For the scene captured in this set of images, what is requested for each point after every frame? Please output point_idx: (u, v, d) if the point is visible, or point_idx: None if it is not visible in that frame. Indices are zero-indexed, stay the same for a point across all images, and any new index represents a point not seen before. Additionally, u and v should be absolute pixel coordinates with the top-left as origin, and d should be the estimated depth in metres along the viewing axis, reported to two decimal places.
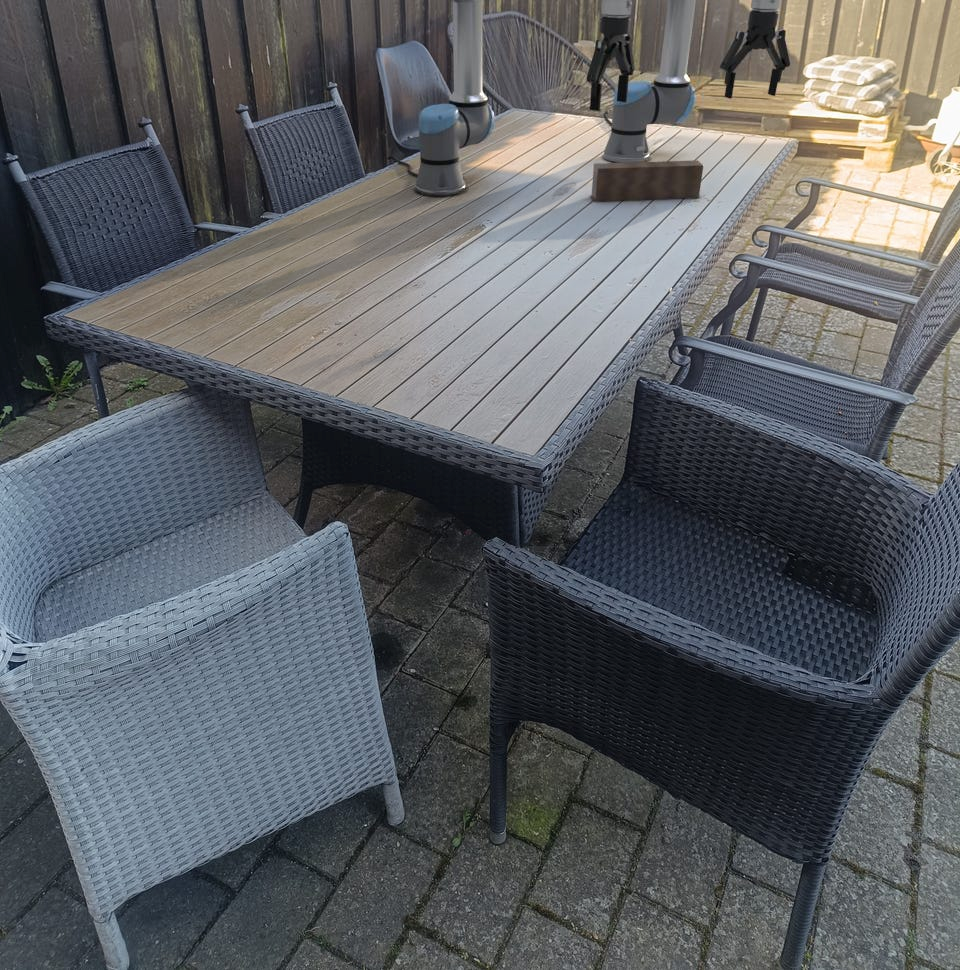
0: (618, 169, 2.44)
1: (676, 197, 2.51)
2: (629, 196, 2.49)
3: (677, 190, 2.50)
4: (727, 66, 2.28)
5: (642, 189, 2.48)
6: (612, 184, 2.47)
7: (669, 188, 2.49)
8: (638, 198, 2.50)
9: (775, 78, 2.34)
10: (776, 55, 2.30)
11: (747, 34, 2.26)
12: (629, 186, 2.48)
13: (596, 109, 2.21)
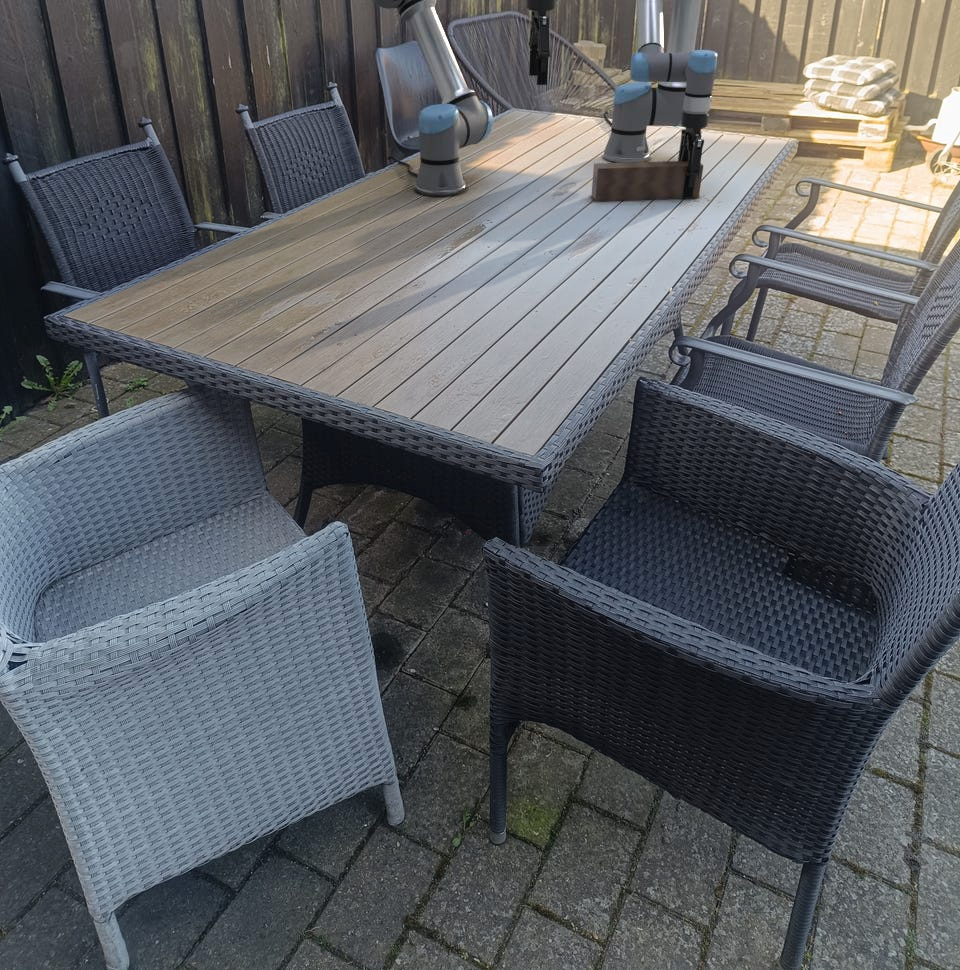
0: (618, 169, 2.44)
1: (676, 197, 2.51)
2: (629, 196, 2.49)
3: (677, 190, 2.50)
4: None
5: (642, 189, 2.48)
6: (612, 184, 2.47)
7: (669, 188, 2.49)
8: (638, 198, 2.50)
9: None
10: None
11: (699, 135, 2.40)
12: (629, 186, 2.48)
13: (544, 83, 2.30)
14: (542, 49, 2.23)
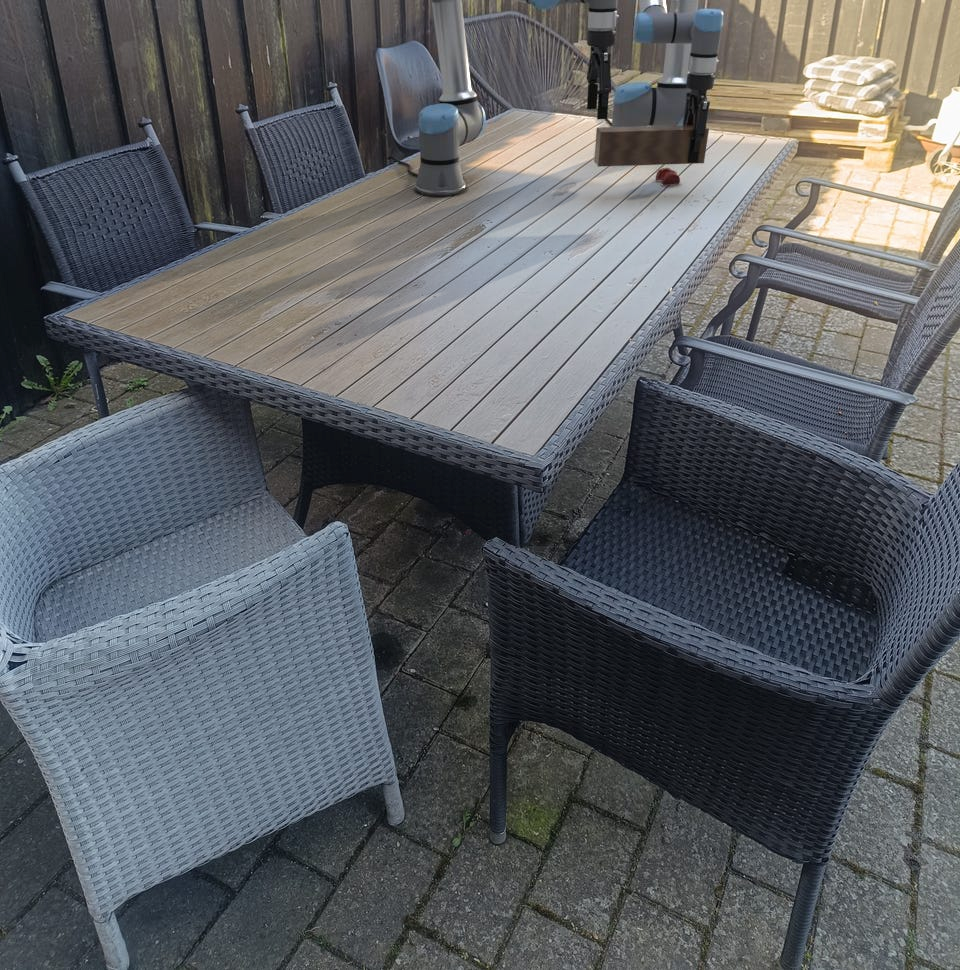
0: (621, 133, 2.38)
1: (681, 162, 2.45)
2: (633, 161, 2.43)
3: (681, 154, 2.44)
4: None
5: (646, 154, 2.43)
6: (615, 148, 2.41)
7: (673, 153, 2.43)
8: (642, 163, 2.44)
9: None
10: None
11: (705, 97, 2.34)
12: (632, 151, 2.42)
13: (605, 117, 2.32)
14: (603, 85, 2.25)
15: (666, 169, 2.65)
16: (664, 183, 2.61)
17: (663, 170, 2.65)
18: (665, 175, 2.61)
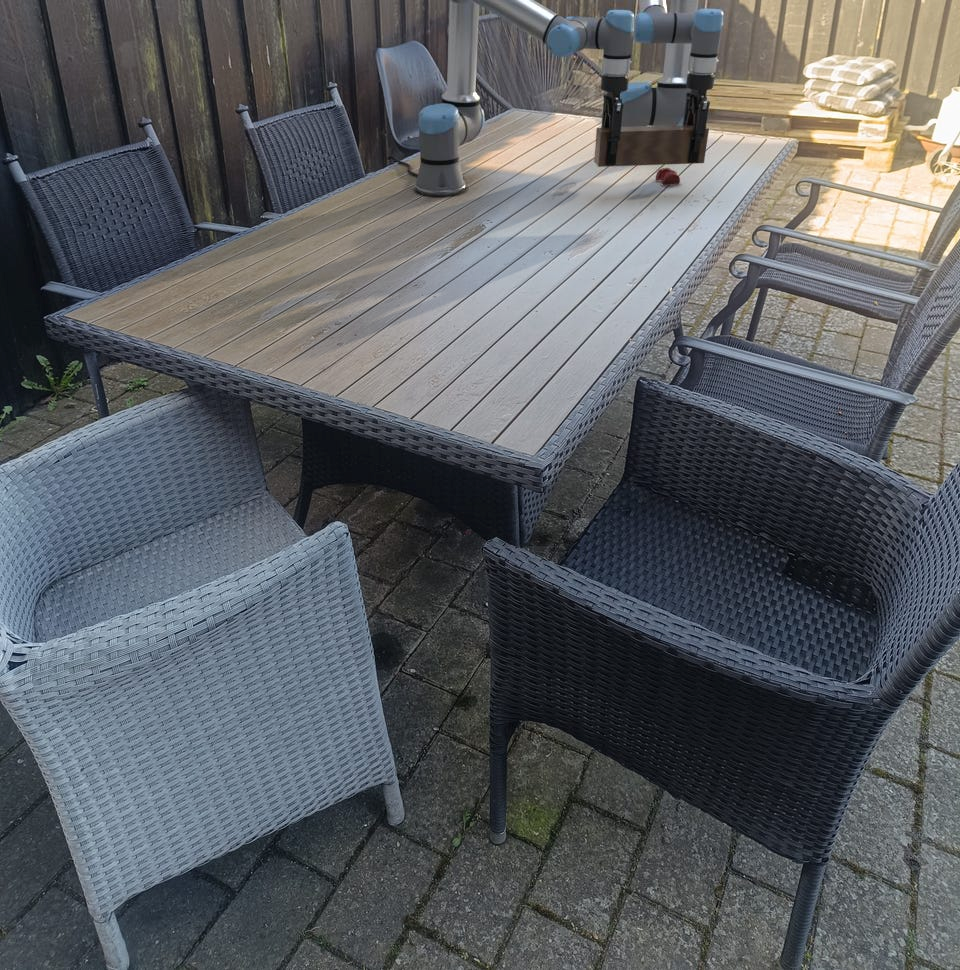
0: (622, 133, 2.38)
1: (681, 162, 2.45)
2: (633, 161, 2.43)
3: (681, 154, 2.44)
4: None
5: (646, 154, 2.43)
6: None
7: (674, 153, 2.43)
8: (642, 164, 2.44)
9: None
10: None
11: (705, 97, 2.34)
12: (632, 151, 2.42)
13: (613, 163, 2.42)
14: (613, 134, 2.35)
15: (666, 169, 2.65)
16: (664, 183, 2.61)
17: (663, 170, 2.65)
18: (665, 175, 2.61)
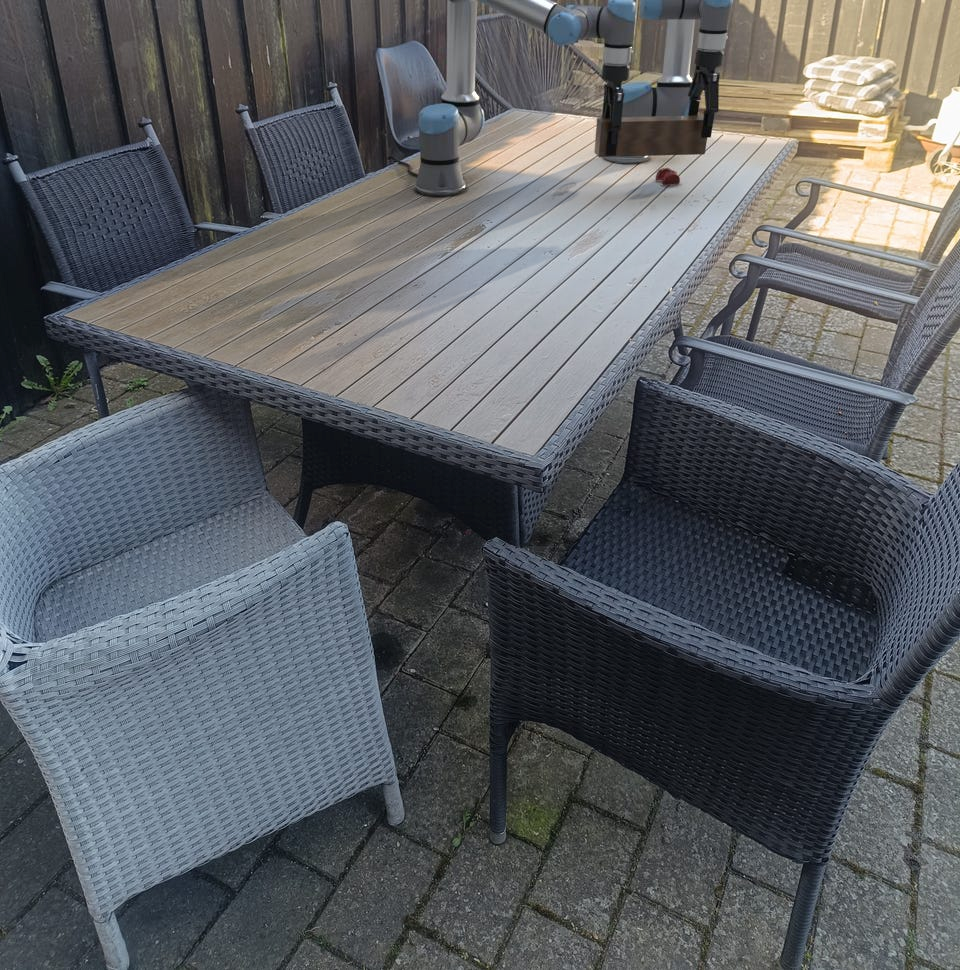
0: (622, 123, 2.37)
1: (682, 153, 2.44)
2: (634, 152, 2.42)
3: (682, 145, 2.42)
4: None
5: (647, 144, 2.41)
6: None
7: (674, 143, 2.42)
8: (643, 154, 2.43)
9: (697, 109, 2.46)
10: None
11: None
12: (633, 141, 2.40)
13: (613, 154, 2.41)
14: (614, 124, 2.33)
15: (666, 169, 2.65)
16: (664, 183, 2.61)
17: (663, 170, 2.65)
18: (665, 175, 2.61)
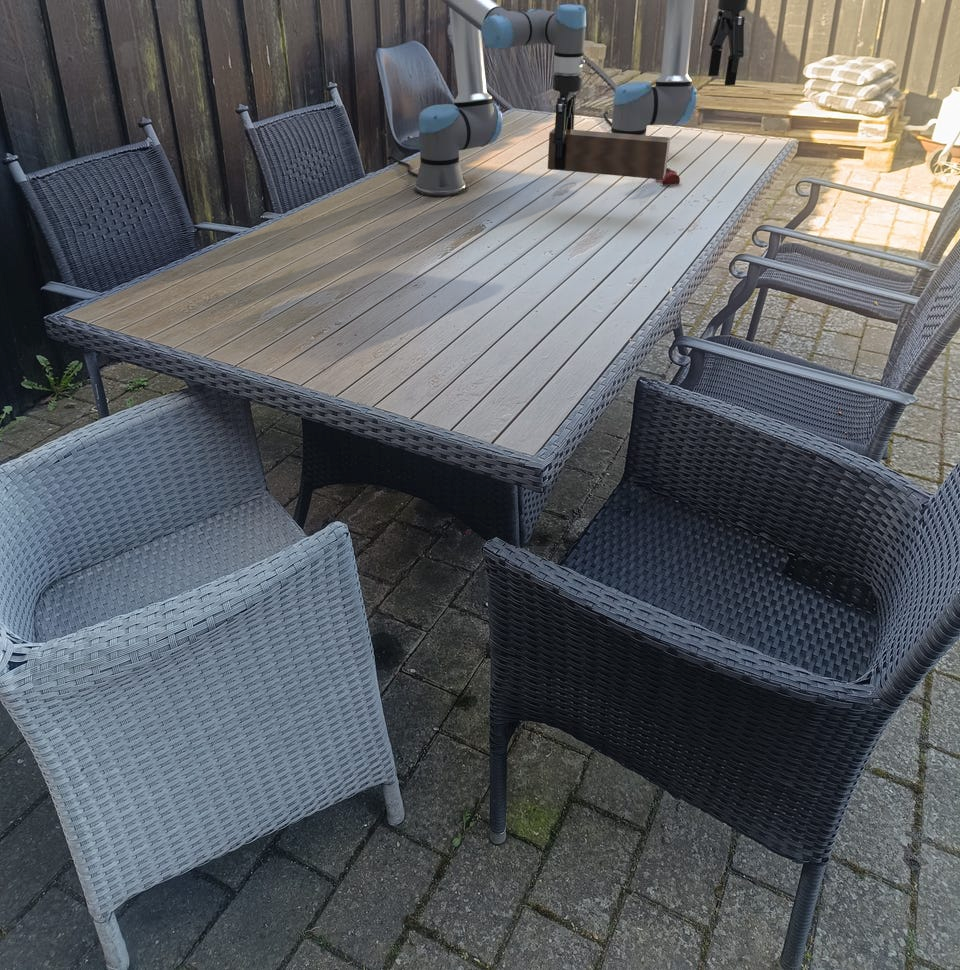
0: (571, 136, 2.25)
1: (637, 175, 2.25)
2: (584, 168, 2.28)
3: (637, 167, 2.24)
4: None
5: (598, 162, 2.26)
6: None
7: (628, 164, 2.24)
8: (594, 172, 2.28)
9: (719, 58, 2.38)
10: None
11: None
12: (583, 157, 2.27)
13: (561, 168, 2.29)
14: (556, 136, 2.22)
15: (666, 169, 2.65)
16: (664, 183, 2.61)
17: None
18: (665, 175, 2.61)
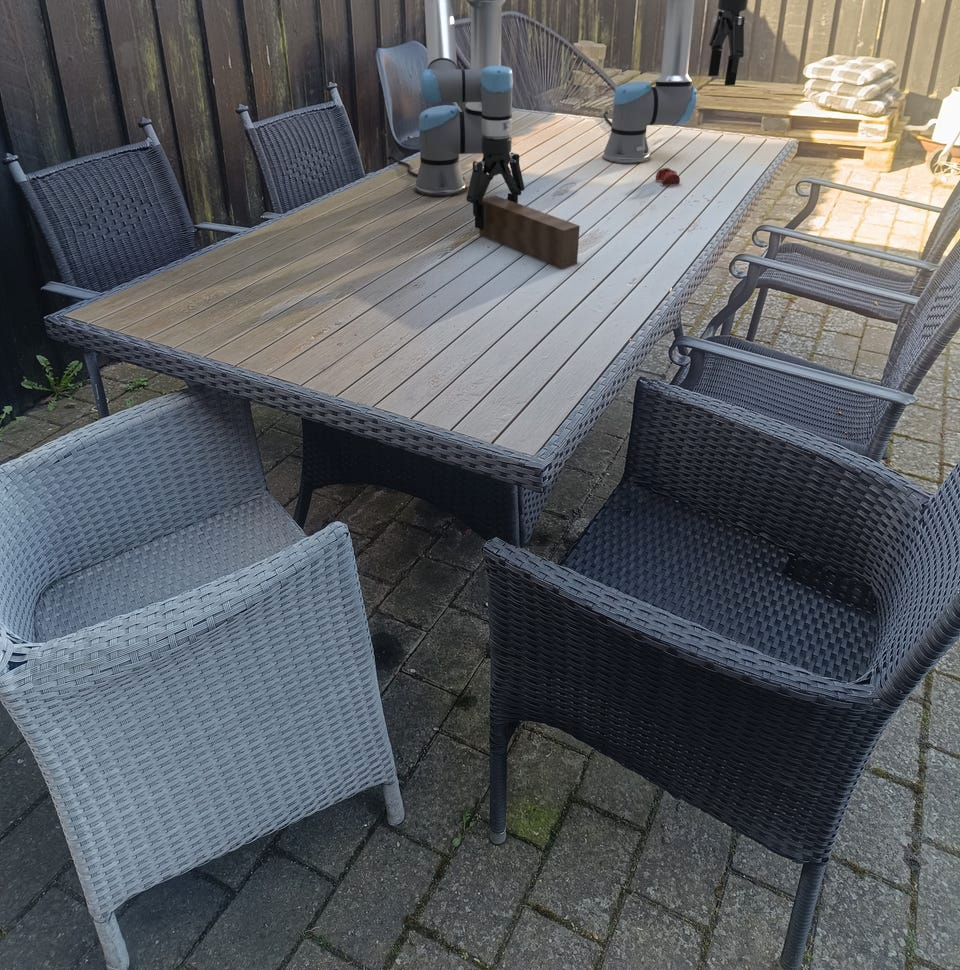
0: (494, 206, 2.16)
1: (542, 259, 2.10)
2: (504, 240, 2.18)
3: (542, 250, 2.09)
4: None
5: (513, 237, 2.15)
6: (490, 221, 2.20)
7: (535, 245, 2.10)
8: (511, 246, 2.17)
9: (719, 58, 2.38)
10: None
11: None
12: (503, 229, 2.17)
13: (480, 227, 2.19)
14: (468, 194, 2.13)
15: (666, 169, 2.65)
16: (664, 183, 2.61)
17: (663, 170, 2.65)
18: (665, 175, 2.61)
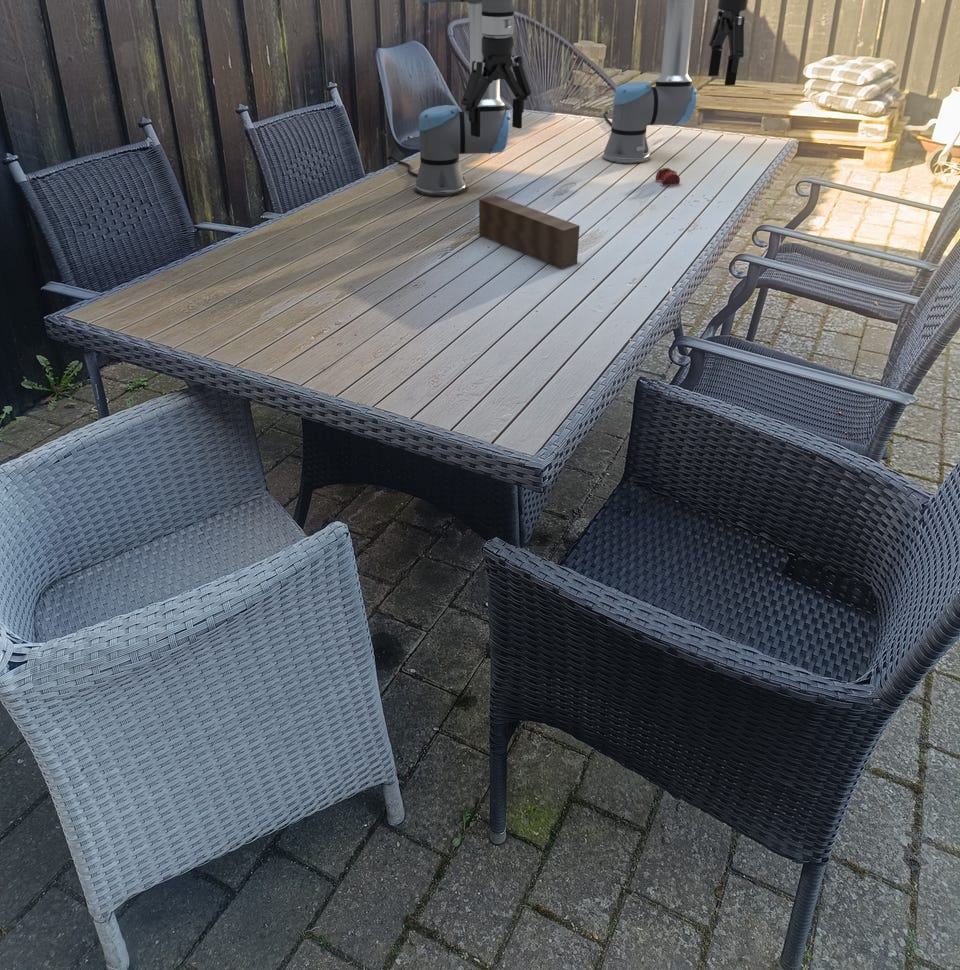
0: (494, 206, 2.16)
1: (542, 259, 2.10)
2: (504, 240, 2.18)
3: (542, 250, 2.09)
4: None
5: (513, 237, 2.15)
6: (490, 221, 2.20)
7: (535, 245, 2.10)
8: (511, 246, 2.17)
9: (719, 58, 2.38)
10: None
11: None
12: (503, 229, 2.17)
13: (476, 135, 2.05)
14: (464, 96, 1.99)
15: (666, 169, 2.65)
16: (664, 183, 2.61)
17: (663, 170, 2.65)
18: (665, 175, 2.61)
